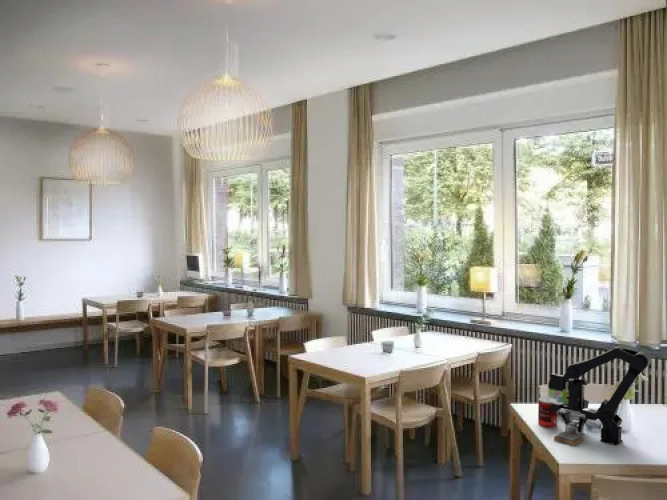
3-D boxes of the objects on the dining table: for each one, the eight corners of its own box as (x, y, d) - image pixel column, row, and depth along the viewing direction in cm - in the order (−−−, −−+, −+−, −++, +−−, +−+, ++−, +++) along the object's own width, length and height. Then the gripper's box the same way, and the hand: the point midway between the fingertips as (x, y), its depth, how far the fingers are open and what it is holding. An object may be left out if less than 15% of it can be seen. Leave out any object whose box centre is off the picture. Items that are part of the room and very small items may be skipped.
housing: (583, 432, 237) (583, 421, 237) (576, 436, 233) (576, 424, 233) (573, 430, 241) (573, 418, 241) (565, 433, 236) (565, 422, 236)
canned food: (554, 421, 251) (554, 397, 250) (559, 428, 243) (559, 402, 243) (536, 421, 252) (536, 396, 251) (540, 427, 244) (541, 401, 243)
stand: (582, 441, 228) (582, 436, 228) (573, 446, 223) (574, 441, 223) (563, 435, 234) (563, 430, 234) (554, 440, 229) (554, 435, 229)
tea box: (548, 414, 261) (549, 382, 261) (546, 407, 271) (547, 376, 271) (583, 417, 257) (584, 385, 257) (581, 410, 267) (581, 379, 266)
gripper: (606, 394, 235) (605, 432, 235) (562, 385, 248) (561, 421, 249) (595, 400, 227) (594, 439, 228) (550, 390, 241) (549, 427, 241)
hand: (574, 431), depth 237 cm, fingers closed on housing, 4 cm apart
